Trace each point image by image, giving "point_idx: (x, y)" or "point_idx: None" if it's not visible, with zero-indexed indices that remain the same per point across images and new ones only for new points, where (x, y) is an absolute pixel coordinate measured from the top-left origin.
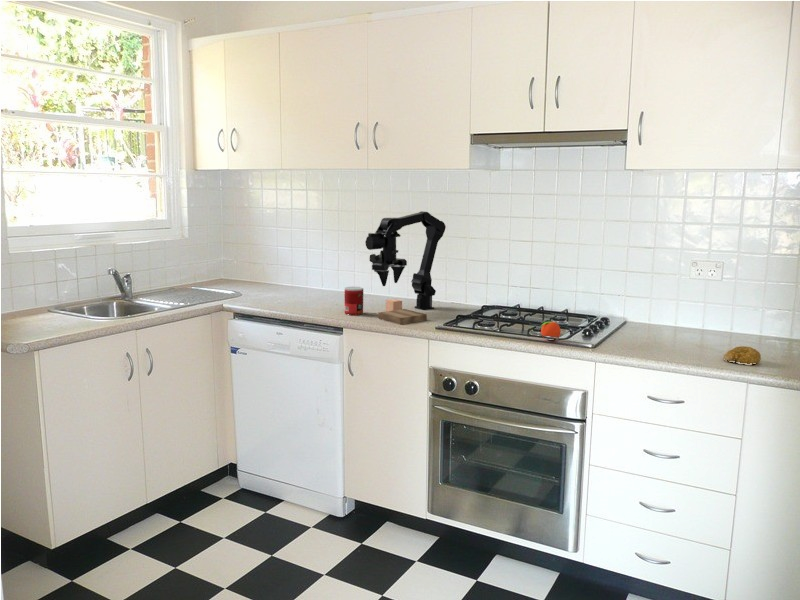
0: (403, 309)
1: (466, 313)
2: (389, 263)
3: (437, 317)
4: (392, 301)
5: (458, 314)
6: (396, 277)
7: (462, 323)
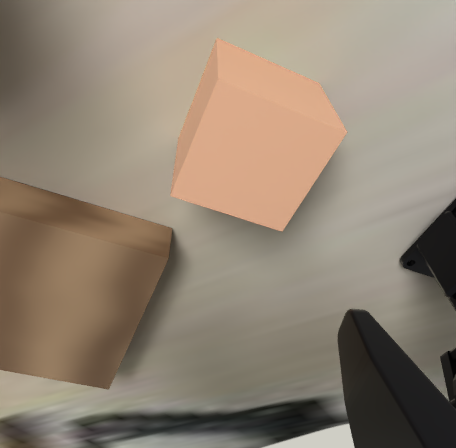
0: (141, 263)
1: None
2: None
3: (215, 366)
4: (179, 183)
5: (337, 395)
6: (368, 435)
7: (160, 442)
